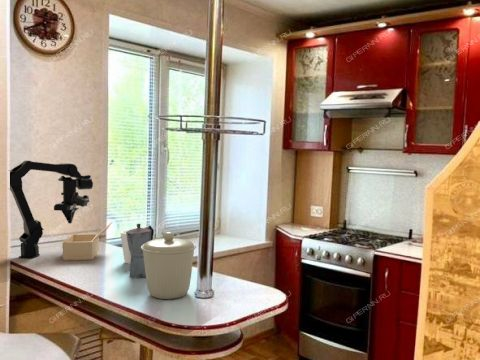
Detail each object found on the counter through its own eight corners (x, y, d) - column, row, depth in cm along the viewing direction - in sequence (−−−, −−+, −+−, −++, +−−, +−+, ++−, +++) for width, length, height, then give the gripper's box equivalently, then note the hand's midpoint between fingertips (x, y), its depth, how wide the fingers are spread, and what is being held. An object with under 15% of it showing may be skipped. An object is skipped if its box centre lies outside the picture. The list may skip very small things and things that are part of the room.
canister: (206, 291, 155) (206, 230, 154) (174, 307, 139) (174, 239, 138) (163, 283, 164) (163, 225, 162) (129, 297, 148) (129, 233, 146)
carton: (62, 260, 195) (61, 242, 194) (71, 251, 213) (71, 234, 213) (92, 260, 196) (92, 241, 196) (99, 250, 215) (99, 233, 215)
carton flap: (107, 227, 198) (107, 228, 198) (112, 221, 214) (112, 222, 214) (92, 240, 197) (93, 241, 197) (98, 233, 213) (99, 234, 213)
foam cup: (148, 261, 196) (148, 231, 195) (132, 265, 188) (132, 234, 187) (132, 258, 201) (132, 229, 200) (116, 262, 193) (116, 232, 192)
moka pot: (118, 278, 170) (118, 225, 169) (142, 268, 184) (141, 219, 183) (140, 281, 166) (139, 227, 165) (162, 270, 181) (162, 221, 179)
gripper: (76, 192, 202) (77, 227, 203) (94, 188, 220) (95, 220, 222) (52, 192, 203) (53, 226, 204) (72, 188, 222) (73, 220, 223)
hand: (70, 223), depth 213 cm, fingers closed
